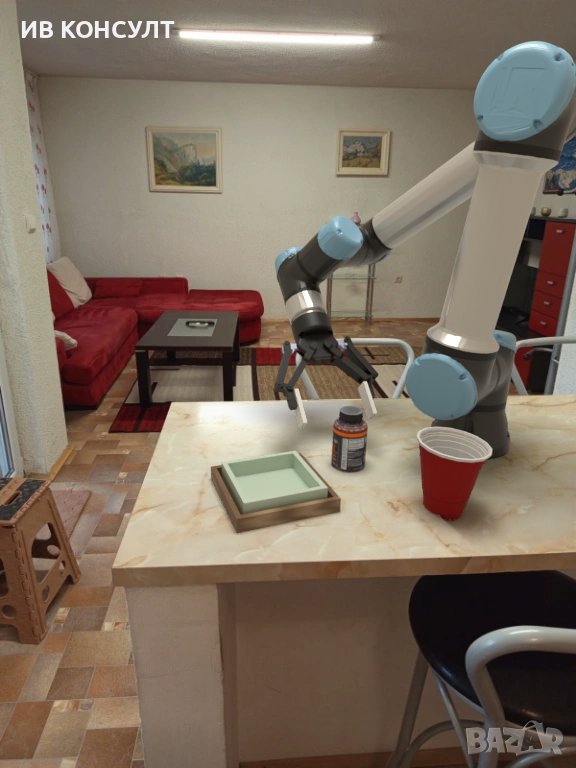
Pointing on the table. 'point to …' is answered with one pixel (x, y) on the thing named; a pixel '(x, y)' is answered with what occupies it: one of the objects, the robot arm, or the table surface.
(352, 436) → the supplement bottle
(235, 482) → the grey-green crate
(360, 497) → the table surface
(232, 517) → the walnut crate
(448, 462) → the plastic cup
